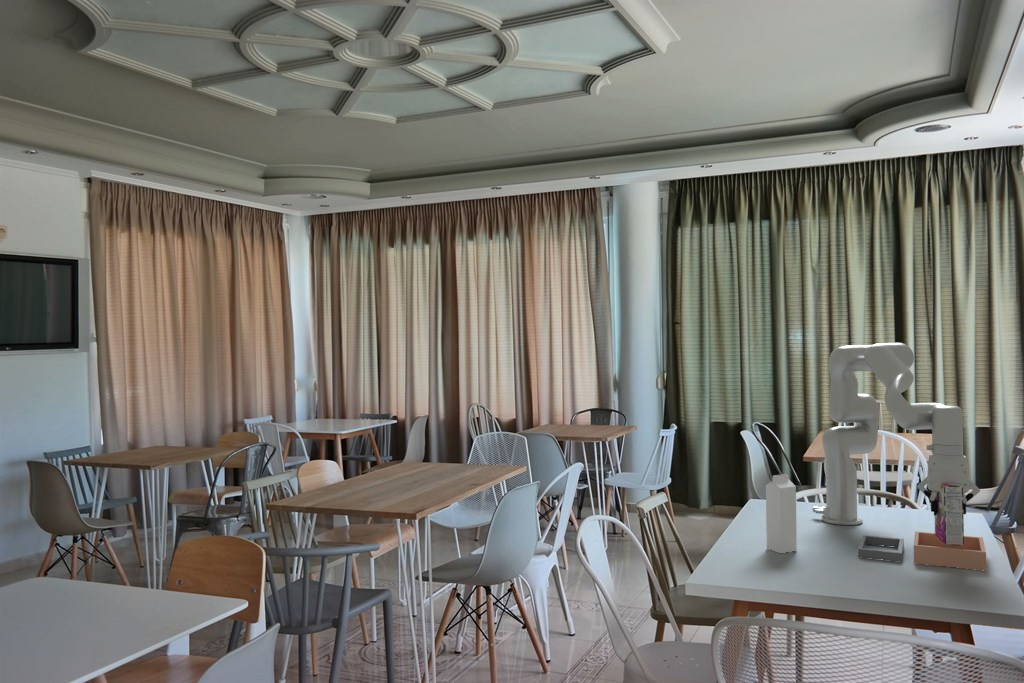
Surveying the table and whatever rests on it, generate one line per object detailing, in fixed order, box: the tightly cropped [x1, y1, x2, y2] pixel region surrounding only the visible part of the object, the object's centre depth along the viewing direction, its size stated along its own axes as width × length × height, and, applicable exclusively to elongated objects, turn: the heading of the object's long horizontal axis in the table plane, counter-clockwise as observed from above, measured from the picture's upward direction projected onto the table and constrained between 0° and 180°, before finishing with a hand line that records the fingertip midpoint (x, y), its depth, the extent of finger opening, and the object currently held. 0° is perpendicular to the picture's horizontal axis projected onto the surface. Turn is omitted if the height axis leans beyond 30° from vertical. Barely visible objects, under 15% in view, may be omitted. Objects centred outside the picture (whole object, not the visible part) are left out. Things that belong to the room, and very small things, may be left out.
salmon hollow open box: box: [913, 531, 987, 572], centre depth 223 cm, size 17×17×5 cm
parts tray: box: [857, 534, 905, 563], centre depth 231 cm, size 11×17×2 cm, turn 152°
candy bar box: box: [934, 483, 965, 546], centre depth 223 cm, size 11×5×16 cm, turn 166°
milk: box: [765, 473, 798, 554], centre depth 235 cm, size 6×6×22 cm
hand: (948, 515), depth 223 cm, fingers closed on candy bar box, 5 cm apart
